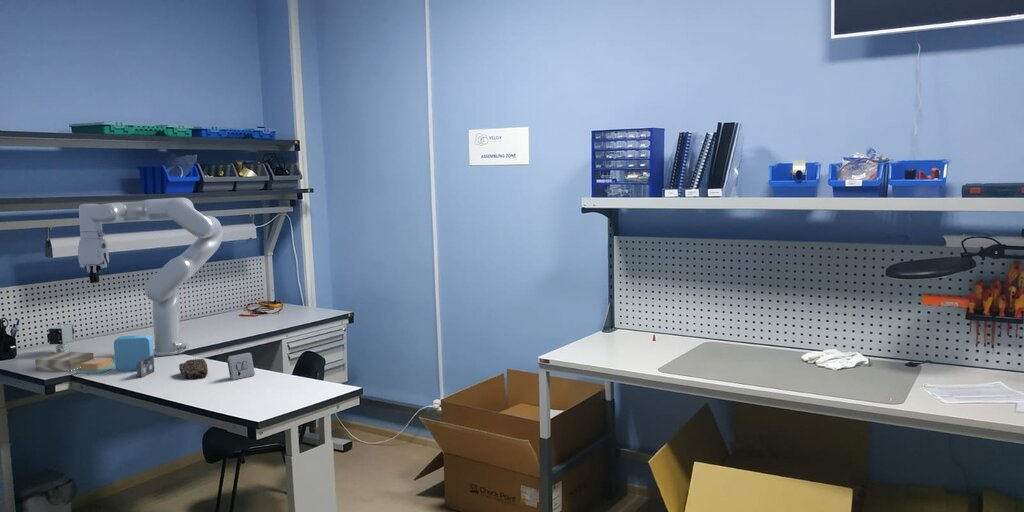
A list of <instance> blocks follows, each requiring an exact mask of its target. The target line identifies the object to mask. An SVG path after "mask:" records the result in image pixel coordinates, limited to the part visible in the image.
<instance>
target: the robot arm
mask: <svg viewBox="0 0 1024 512" xmlns="http://www.w3.org/2000/svg"><path fill="white" fill-rule="evenodd" d="M78 216H79V217H78V219H79V232H80V233H79V234H80V239H79V241H78V249H77V250H78V251H77V257H78V263H79V268H81V269H85V271H87V273H88V274H89V277H88V279H89V283H90V284H96V283H100V272H101V271H102V269H104V268H108V264H109V263H110V255H109V248H108V245H107V241H106V238H104V237H105V236H106V234H105V232H103V223H107V224H108V223H109V224H112V223H118V222H126V221H127V222H128V221H129V222H130V221H148V222H157V221H173V222H175V223H176V224H177V225H179V226H180V227H182V228H183V229H184V230H186V231H187V232H189V233H190V234H191V235H193V236H194V237H196V238H197V239H196V240H195V241H194V242H193V243H192V244H191V245H189V247H188V248H187V249H186V250H184V252H182V253H181V254H180V255H178V256H176V257H173V258H171V259H170V260H169V261H168V262H166V263H165V264H164V265H163V266H162V267H161V268H160V269H159V270H158V271H157V272H156V273H155V274H154V275H153V276H152V277H150V279H149V280H148V281H147V282H146V283H145V286H144V293H145V295H146V297H147V298H148V299H149V300H151V301H152V324H153V325H152V326H153V347H154V348H153V352H154V357H155V356H157V357H160V356H161V357H162V356H163V357H164V356H165V357H166V356H175V355H179V354H182V353H185V352H186V350H189V347H190V343H184V340H183V339H181V325H180V324H181V323H180V305H179V304H180V287H181V286H182V285H183V284H184V283H185V282H186V281H187V280H189V279H190V278H192V277H193V276H194V275H195V274H196V273H197V271H199V269H201V267H202V266H203V265H204V264H206V262H207V261H208V260H209V259H210V258H211V257H212V256H213V255H214V254H215V253H216V251H218V249H219V248H220V246H221V244H222V241H223V236H224V232H223V228H222V224H221V222H220V220H218V218H216V217H214V216H212V215H204V214H203V213H201V212H199V211H198V210H196V209H195V206H194V204H193V202H192V200H190V199H189V198H187V197H170V198H169V197H168V198H167V197H166V198H165V197H164V198H154V199H153V198H152V199H151V198H149V199H144V200H141V201H140V200H138V201H126V202H125V201H124V202H122V201H121V202H108V203H102V204H99V203H82V204H80V205H79V206H78Z"/></svg>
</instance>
